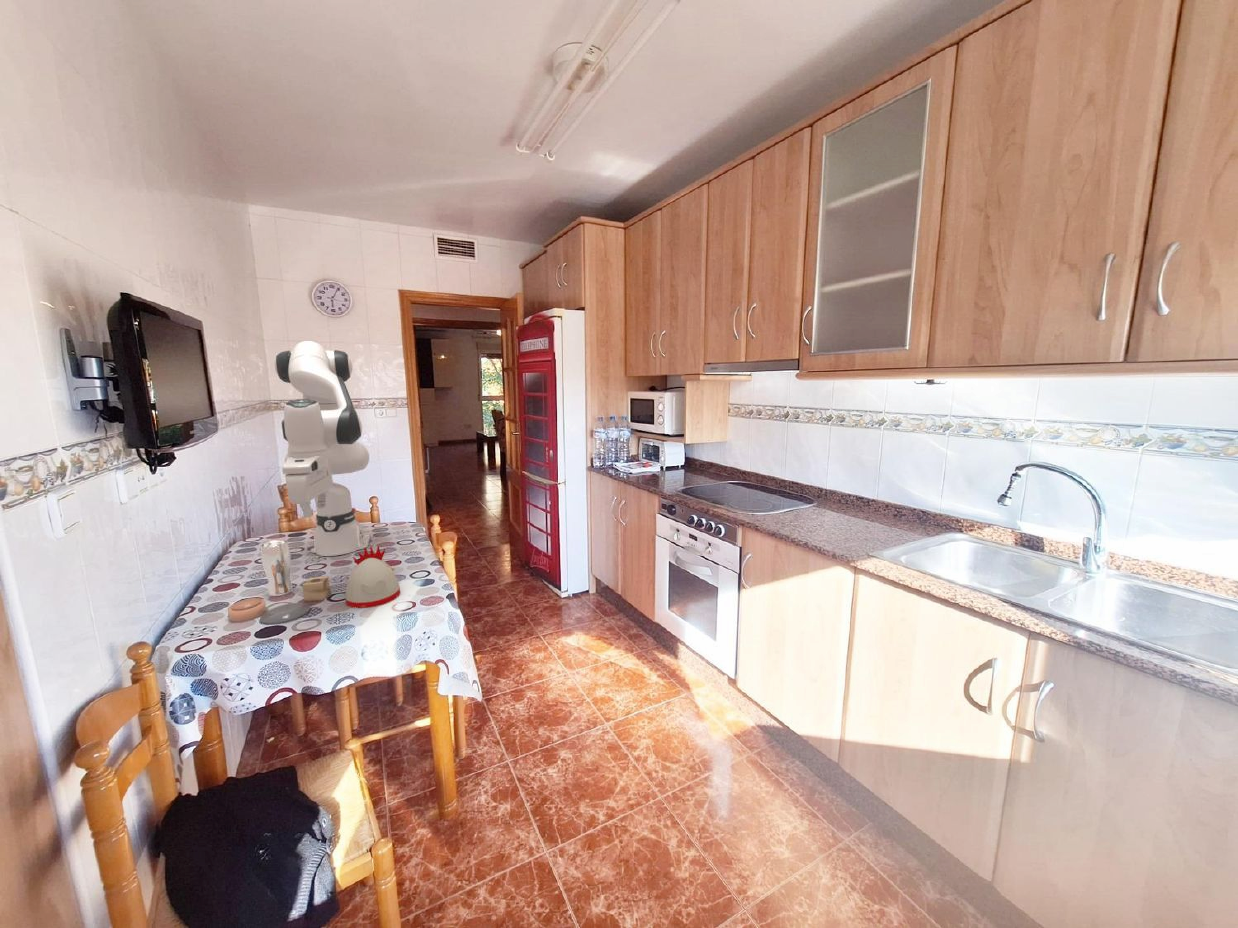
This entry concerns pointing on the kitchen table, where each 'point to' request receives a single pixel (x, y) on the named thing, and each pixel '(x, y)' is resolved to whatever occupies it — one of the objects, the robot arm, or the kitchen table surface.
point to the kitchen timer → (371, 581)
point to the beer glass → (277, 566)
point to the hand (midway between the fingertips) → (315, 512)
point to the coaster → (285, 613)
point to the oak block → (316, 588)
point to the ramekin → (246, 610)
